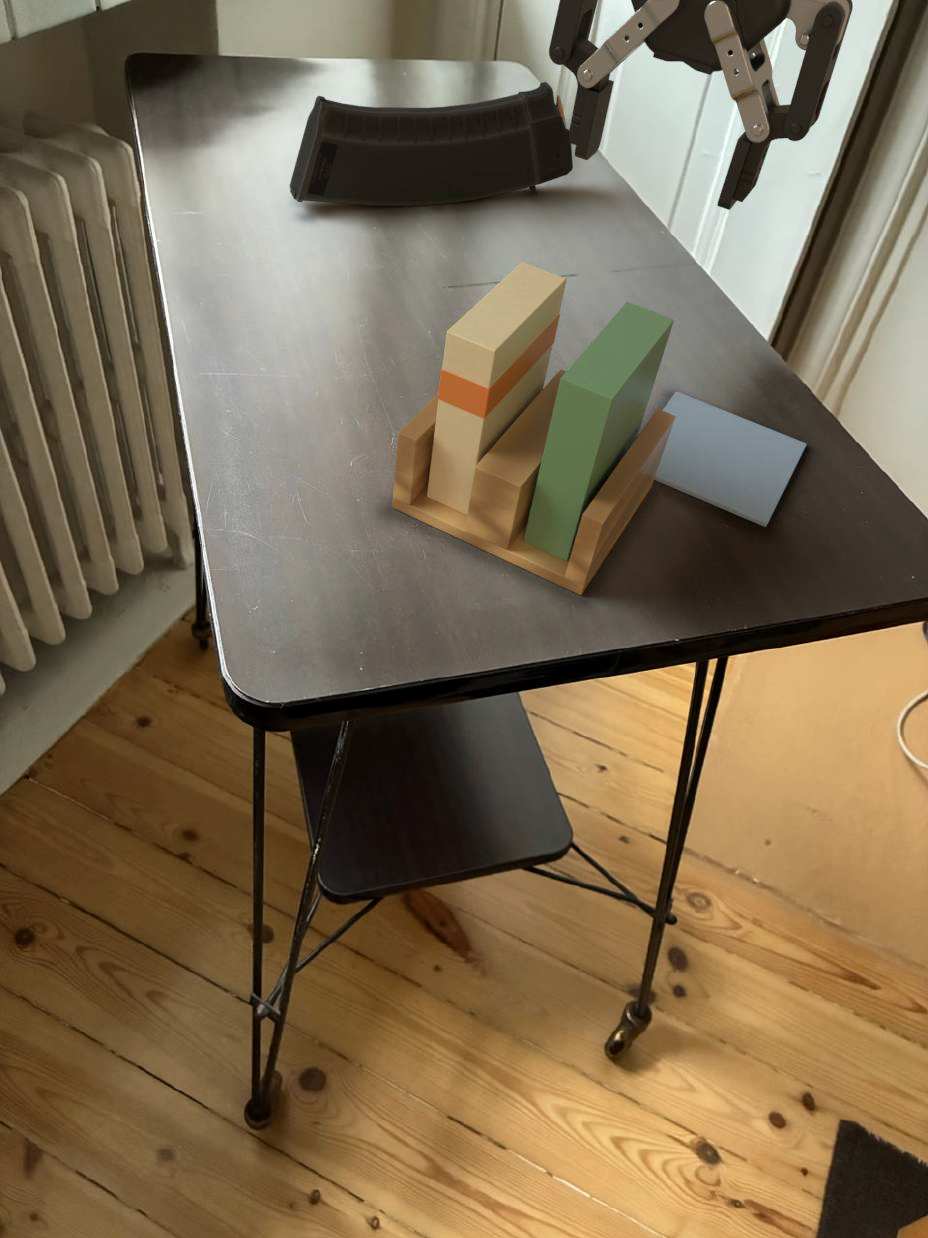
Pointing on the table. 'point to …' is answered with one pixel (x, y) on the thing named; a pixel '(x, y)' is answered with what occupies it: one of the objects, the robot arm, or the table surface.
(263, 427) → the table surface
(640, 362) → the green book
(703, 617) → the table surface
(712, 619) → the table surface
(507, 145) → the magazine
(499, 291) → the cream book
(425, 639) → the table surface
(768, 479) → the felt pad
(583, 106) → the robot arm
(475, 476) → the book rack
